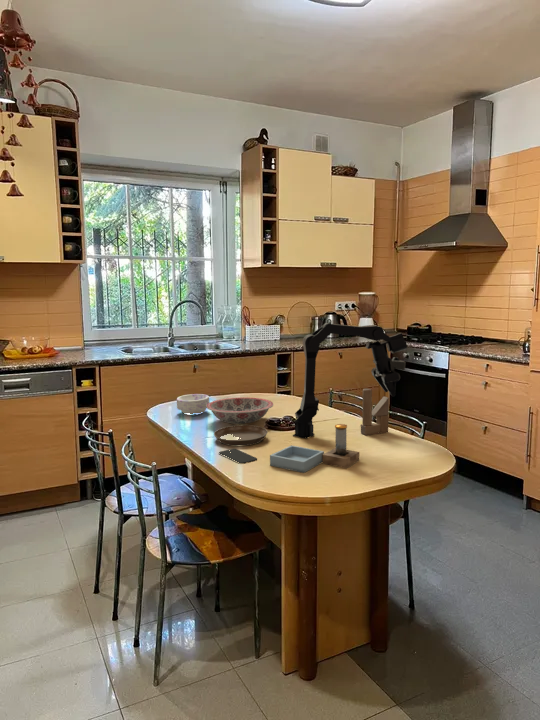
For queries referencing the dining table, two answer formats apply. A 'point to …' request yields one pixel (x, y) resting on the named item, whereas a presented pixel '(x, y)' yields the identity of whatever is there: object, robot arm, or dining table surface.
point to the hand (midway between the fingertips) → (390, 394)
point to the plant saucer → (242, 434)
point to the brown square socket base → (341, 458)
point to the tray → (296, 458)
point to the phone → (238, 455)
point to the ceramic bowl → (239, 409)
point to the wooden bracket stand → (374, 414)
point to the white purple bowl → (192, 403)
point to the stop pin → (341, 439)
